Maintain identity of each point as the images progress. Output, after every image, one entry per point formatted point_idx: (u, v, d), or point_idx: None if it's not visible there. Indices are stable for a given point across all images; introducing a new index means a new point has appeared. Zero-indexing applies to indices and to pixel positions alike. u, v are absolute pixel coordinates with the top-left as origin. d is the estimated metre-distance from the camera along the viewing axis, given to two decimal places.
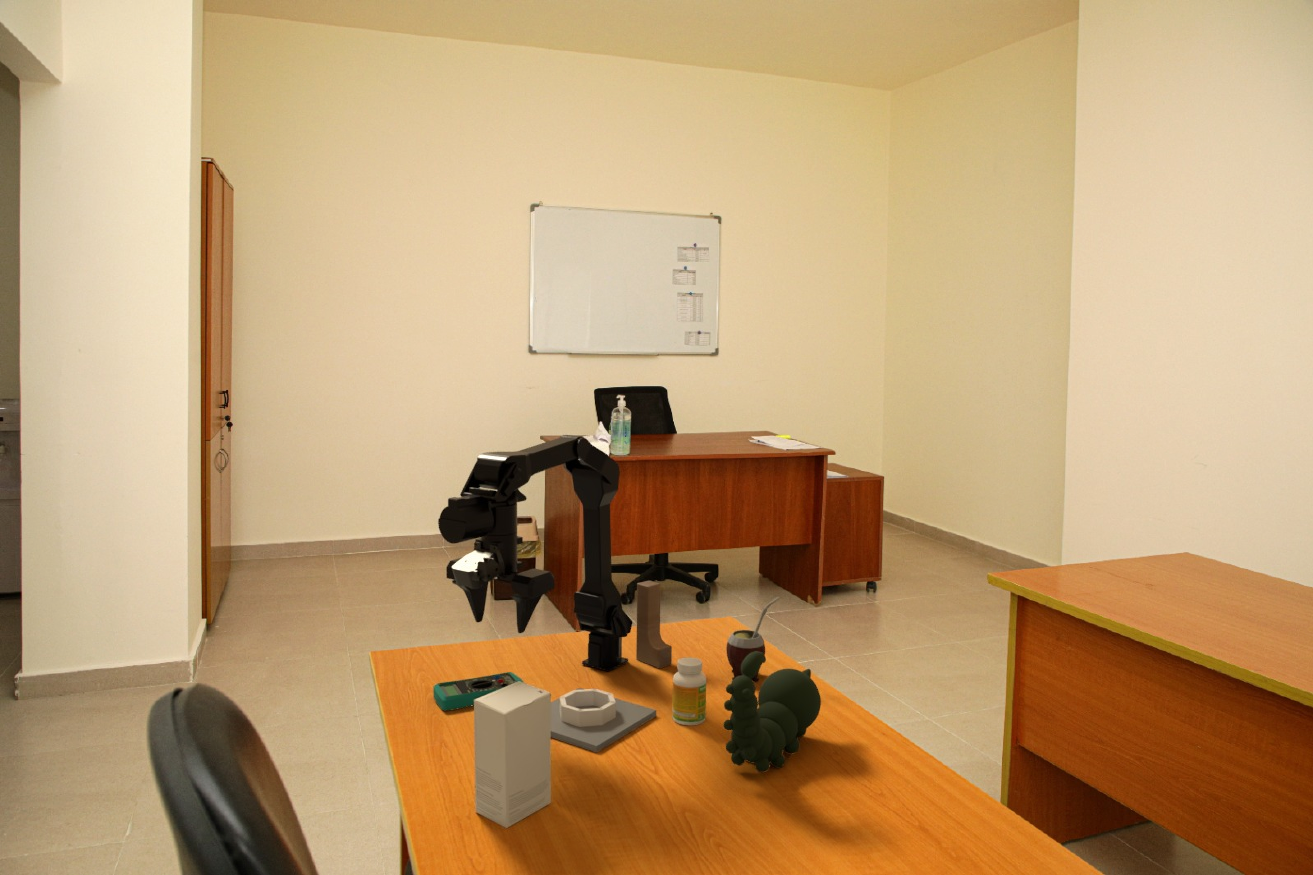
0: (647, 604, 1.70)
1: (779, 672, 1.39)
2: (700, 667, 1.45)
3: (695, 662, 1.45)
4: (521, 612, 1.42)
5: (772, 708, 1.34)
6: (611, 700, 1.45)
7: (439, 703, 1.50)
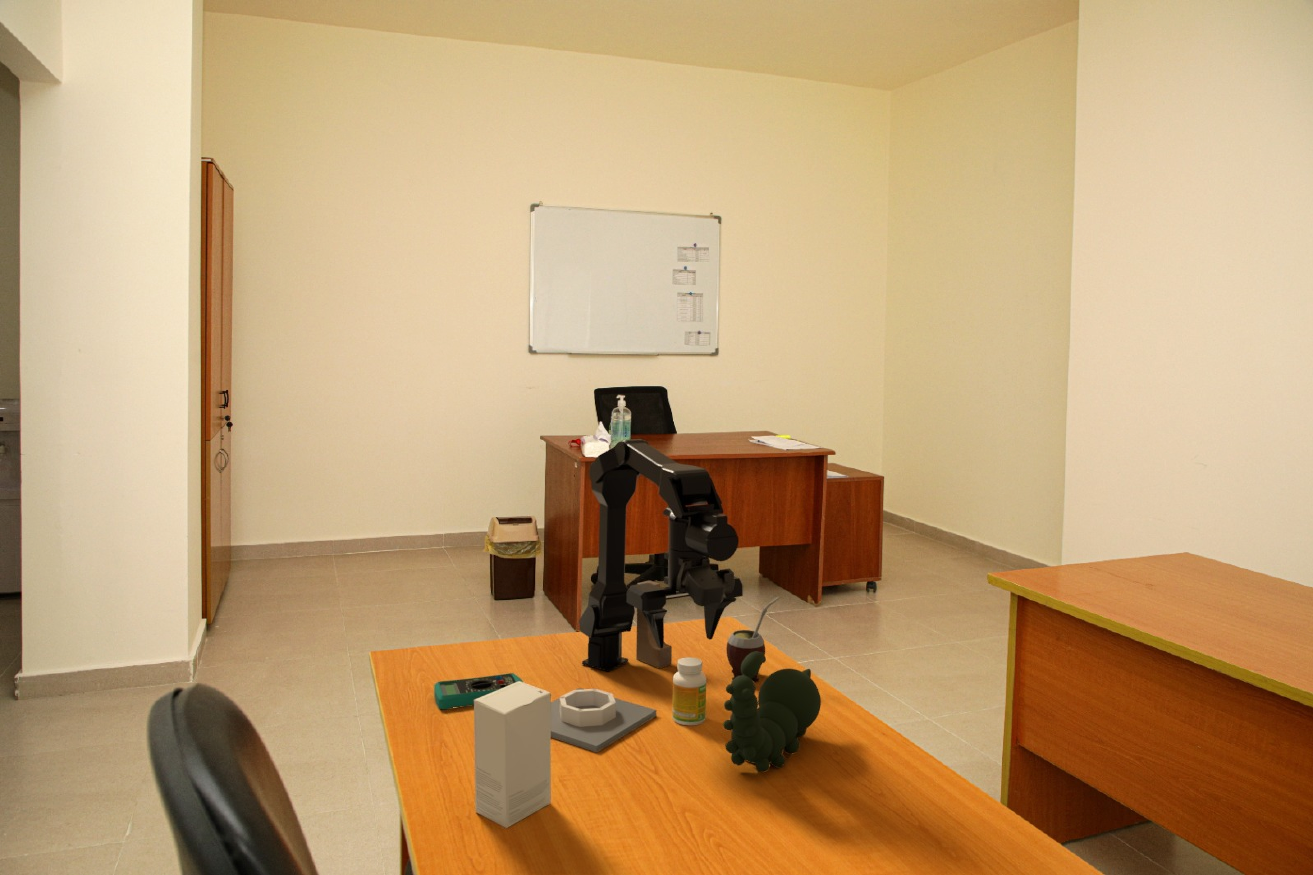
0: None
1: (779, 672, 1.39)
2: (700, 667, 1.45)
3: (695, 662, 1.45)
4: (719, 617, 1.47)
5: (772, 708, 1.34)
6: (611, 700, 1.45)
7: (437, 702, 1.51)
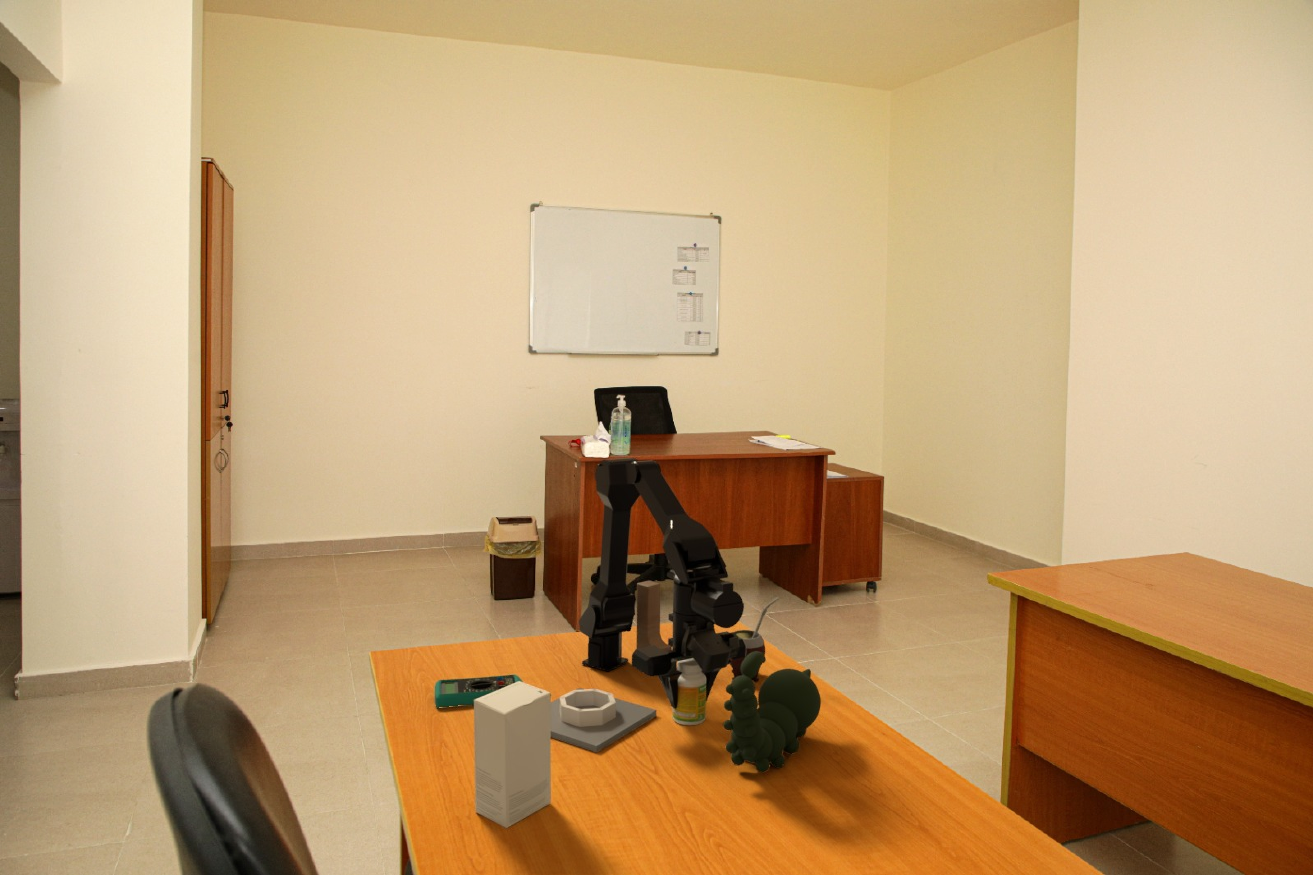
0: (646, 604, 1.70)
1: (779, 672, 1.39)
2: None
3: (695, 662, 1.45)
4: (714, 679, 1.47)
5: (772, 708, 1.34)
6: (611, 700, 1.45)
7: None
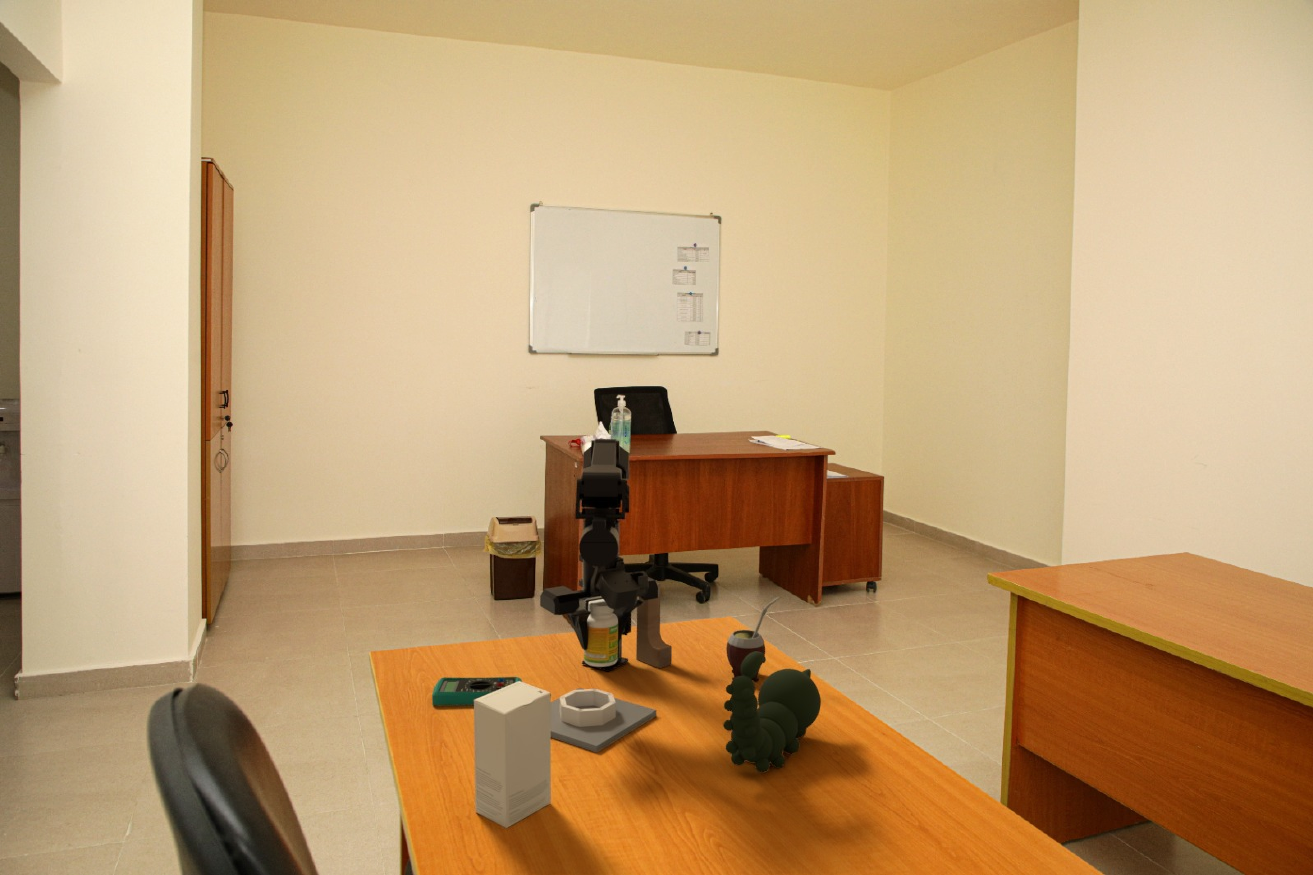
0: (647, 604, 1.70)
1: (779, 672, 1.39)
2: None
3: (606, 603, 1.43)
4: (626, 620, 1.45)
5: (772, 708, 1.34)
6: (611, 700, 1.45)
7: None
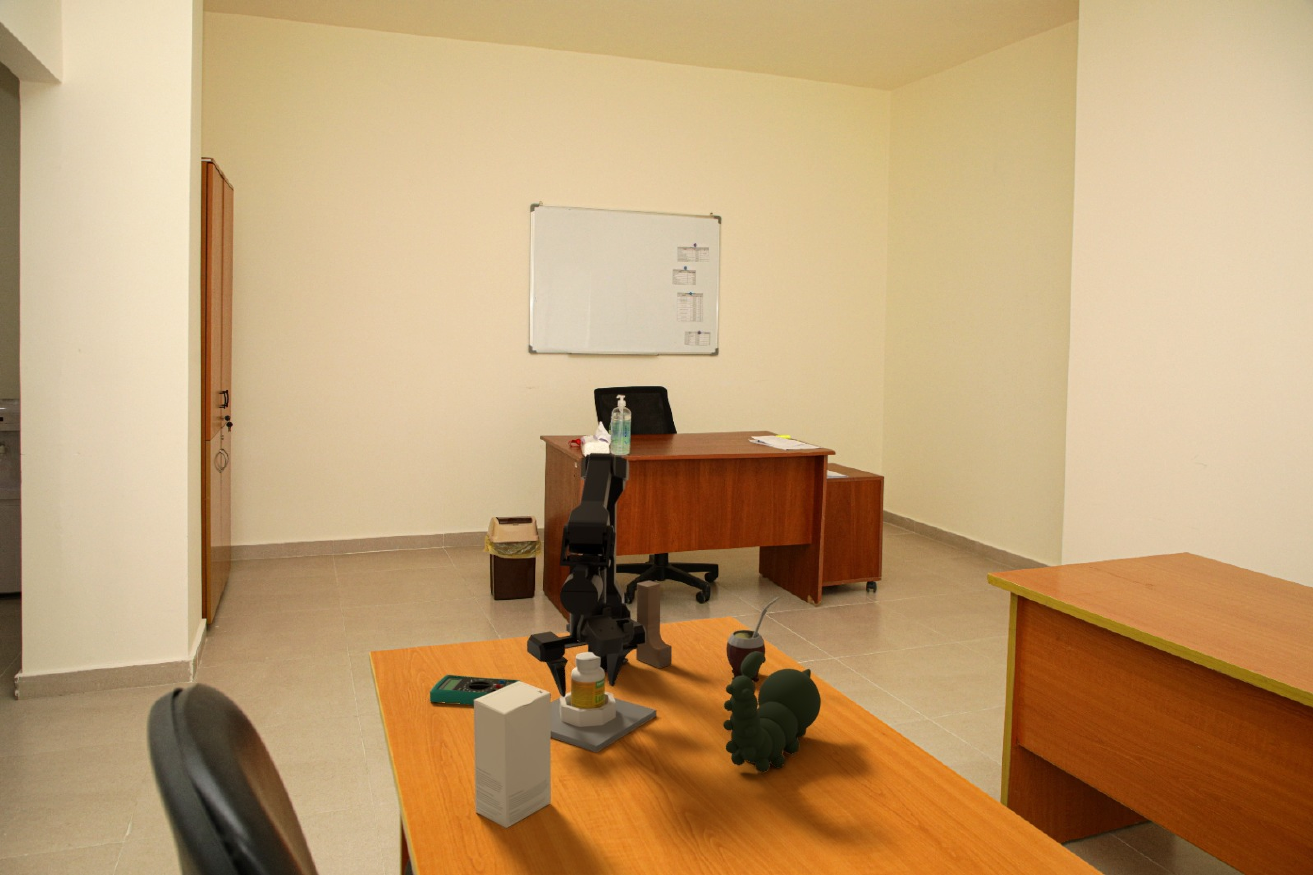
0: (647, 604, 1.70)
1: (779, 672, 1.39)
2: (598, 662, 1.44)
3: (593, 657, 1.44)
4: (621, 664, 1.47)
5: (772, 708, 1.34)
6: (611, 700, 1.45)
7: None
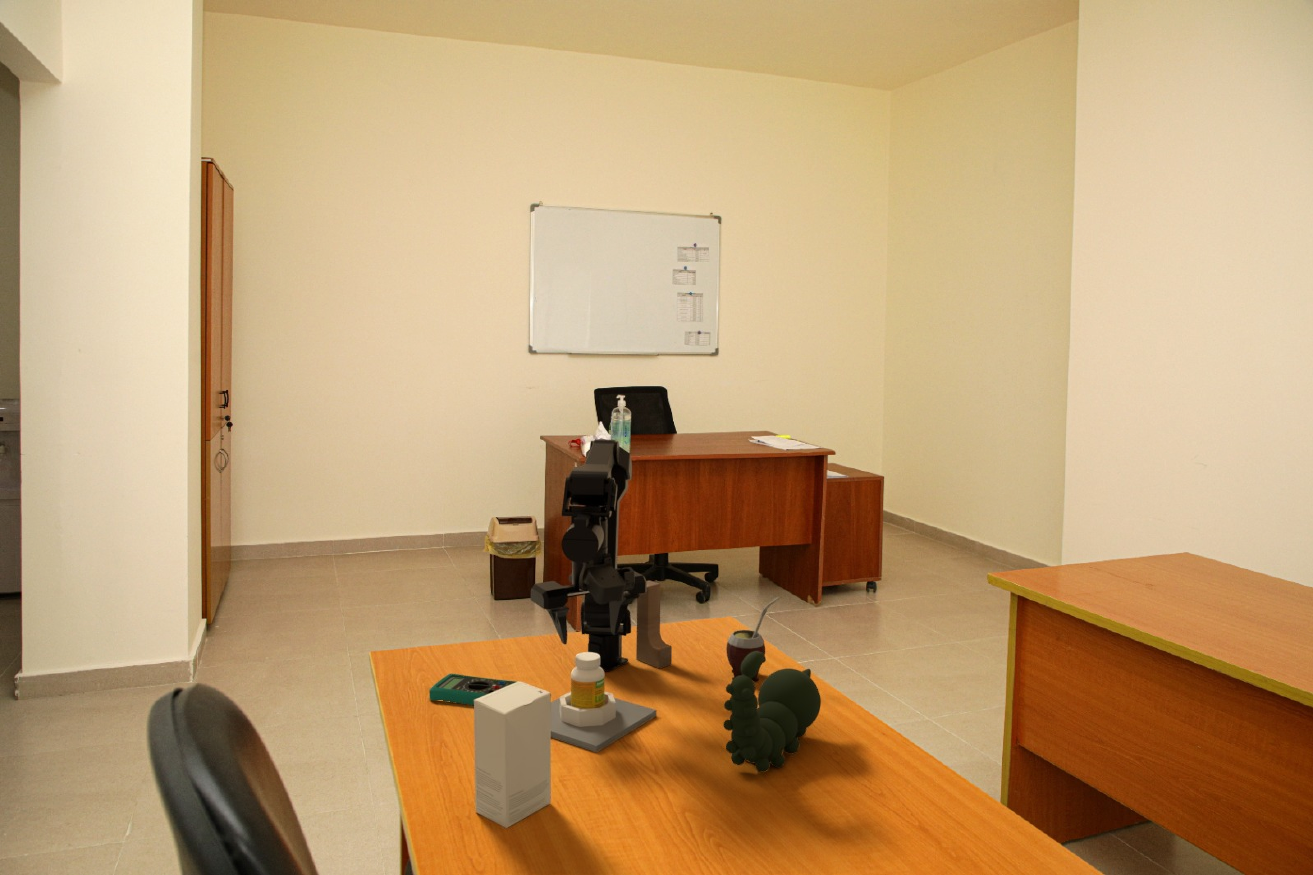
0: (647, 604, 1.70)
1: (779, 672, 1.39)
2: (597, 662, 1.44)
3: (592, 657, 1.44)
4: (623, 612, 1.51)
5: (772, 708, 1.34)
6: (611, 700, 1.45)
7: None
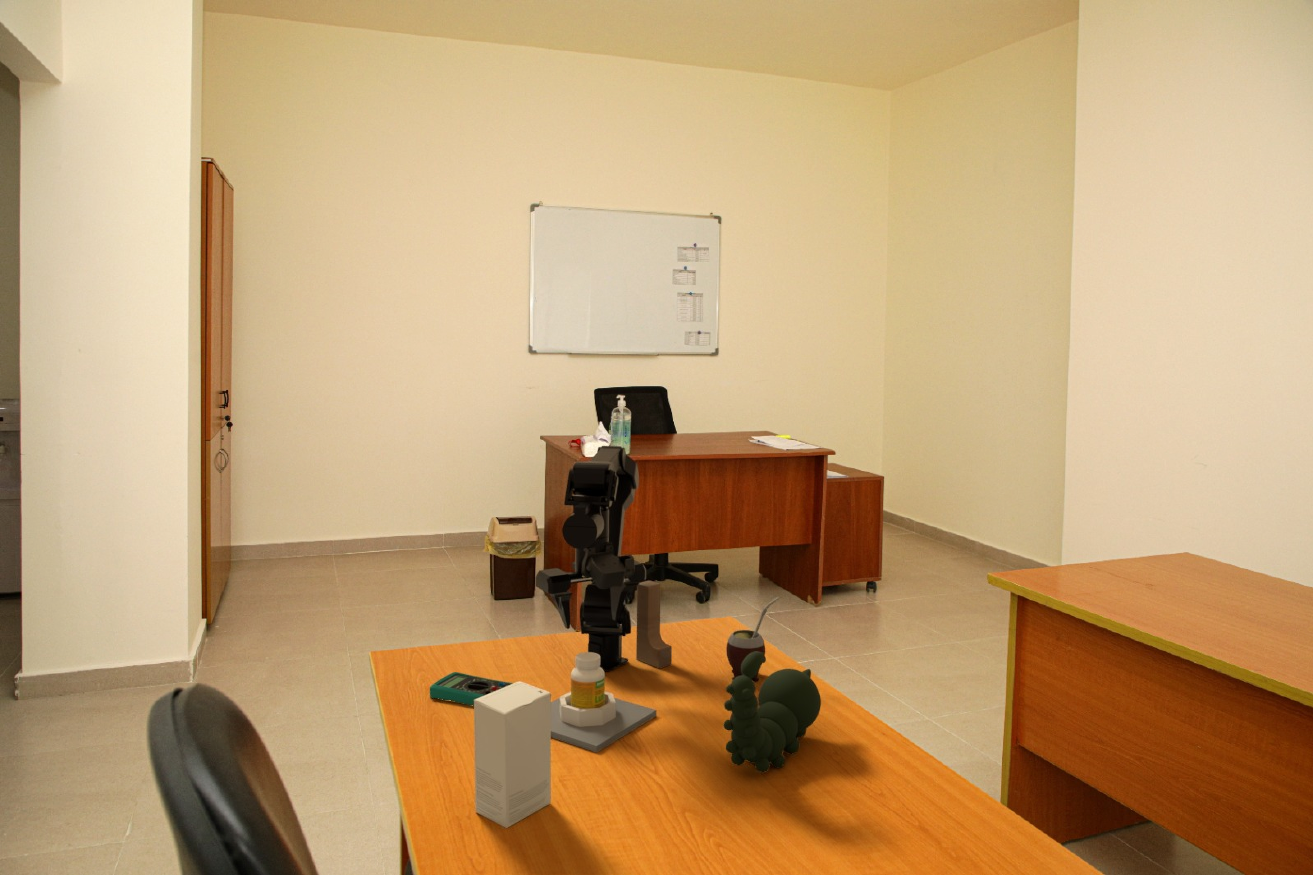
0: (647, 604, 1.70)
1: (779, 672, 1.39)
2: (597, 662, 1.44)
3: (593, 657, 1.44)
4: (624, 599, 1.58)
5: (772, 708, 1.34)
6: (611, 700, 1.45)
7: None
